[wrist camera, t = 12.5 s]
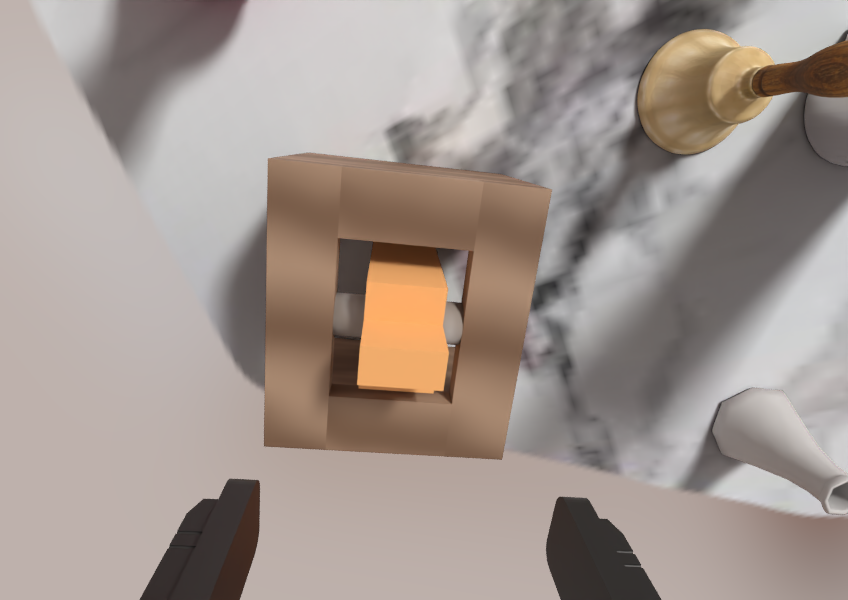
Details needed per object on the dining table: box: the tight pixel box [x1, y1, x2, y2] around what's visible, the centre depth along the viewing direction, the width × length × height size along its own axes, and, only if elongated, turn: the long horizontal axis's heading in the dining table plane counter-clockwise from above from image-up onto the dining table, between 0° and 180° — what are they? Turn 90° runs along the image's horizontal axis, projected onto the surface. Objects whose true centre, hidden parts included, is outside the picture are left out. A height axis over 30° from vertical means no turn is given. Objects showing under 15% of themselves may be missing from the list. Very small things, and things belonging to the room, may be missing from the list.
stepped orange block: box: [357, 241, 449, 394], centre depth 29 cm, size 6×4×14 cm, turn 174°
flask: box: [712, 388, 848, 515], centre depth 40 cm, size 7×7×10 cm
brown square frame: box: [264, 153, 552, 460], centre depth 32 cm, size 16×14×12 cm
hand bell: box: [637, 29, 848, 154], centre depth 28 cm, size 8×8×16 cm
